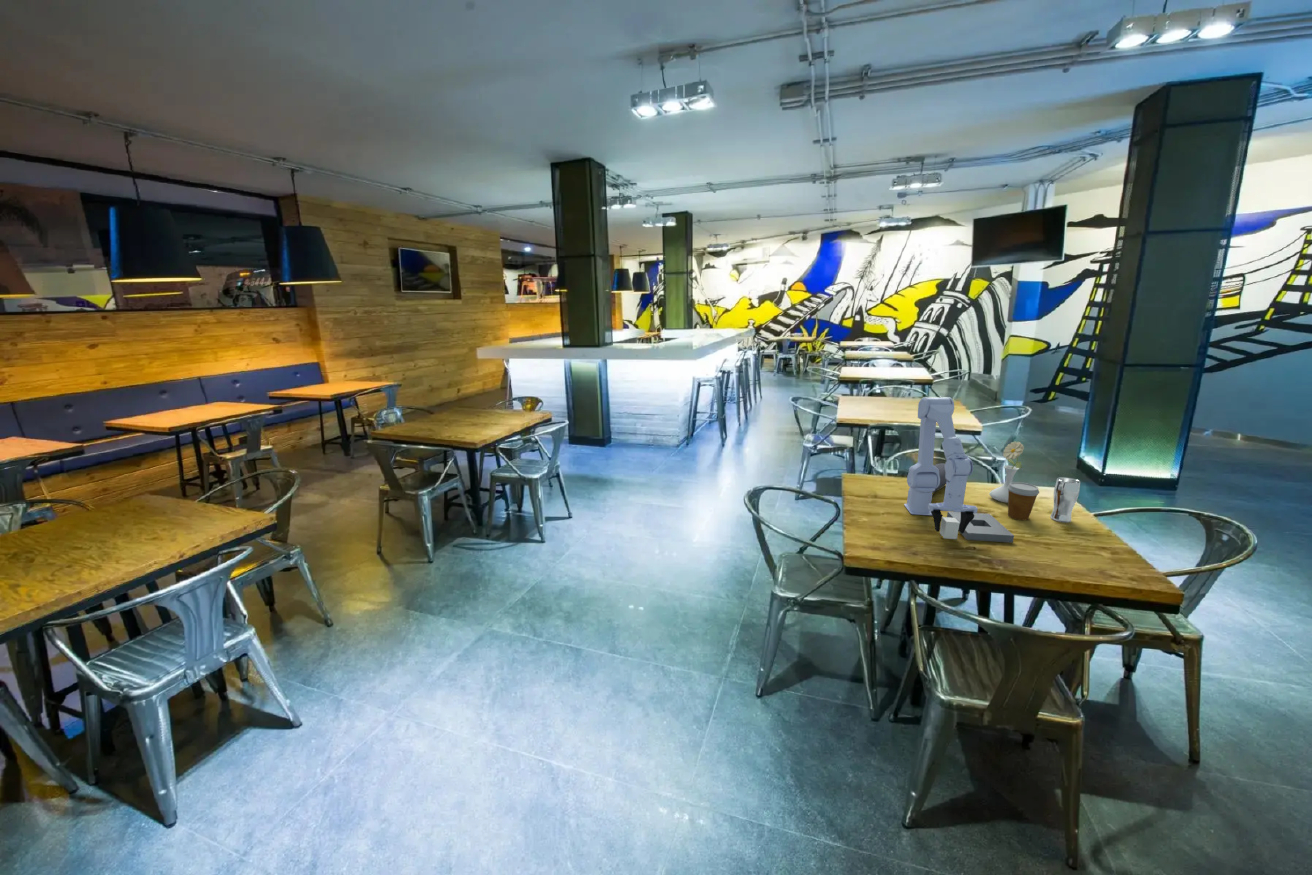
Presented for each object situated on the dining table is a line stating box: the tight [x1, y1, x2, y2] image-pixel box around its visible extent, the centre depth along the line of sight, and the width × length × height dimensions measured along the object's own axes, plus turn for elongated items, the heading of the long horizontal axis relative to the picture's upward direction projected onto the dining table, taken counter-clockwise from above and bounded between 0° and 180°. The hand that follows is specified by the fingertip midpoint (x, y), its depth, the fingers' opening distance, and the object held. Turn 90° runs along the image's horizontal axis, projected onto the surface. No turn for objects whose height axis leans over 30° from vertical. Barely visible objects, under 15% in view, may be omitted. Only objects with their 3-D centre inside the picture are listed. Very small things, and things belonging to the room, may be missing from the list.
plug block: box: [939, 516, 959, 540], centre depth 174 cm, size 4×4×6 cm
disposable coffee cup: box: [1007, 481, 1040, 521], centre depth 188 cm, size 10×10×12 cm
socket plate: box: [946, 511, 1015, 544], centre depth 179 cm, size 18×14×2 cm
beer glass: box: [1050, 476, 1081, 524], centre depth 185 cm, size 7×7×15 cm
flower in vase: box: [989, 440, 1025, 504], centre depth 201 cm, size 13×11×25 cm
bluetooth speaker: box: [933, 462, 947, 494], centre depth 215 cm, size 23×9×10 cm, turn 133°
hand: (949, 531), depth 174 cm, fingers open, 7 cm apart
